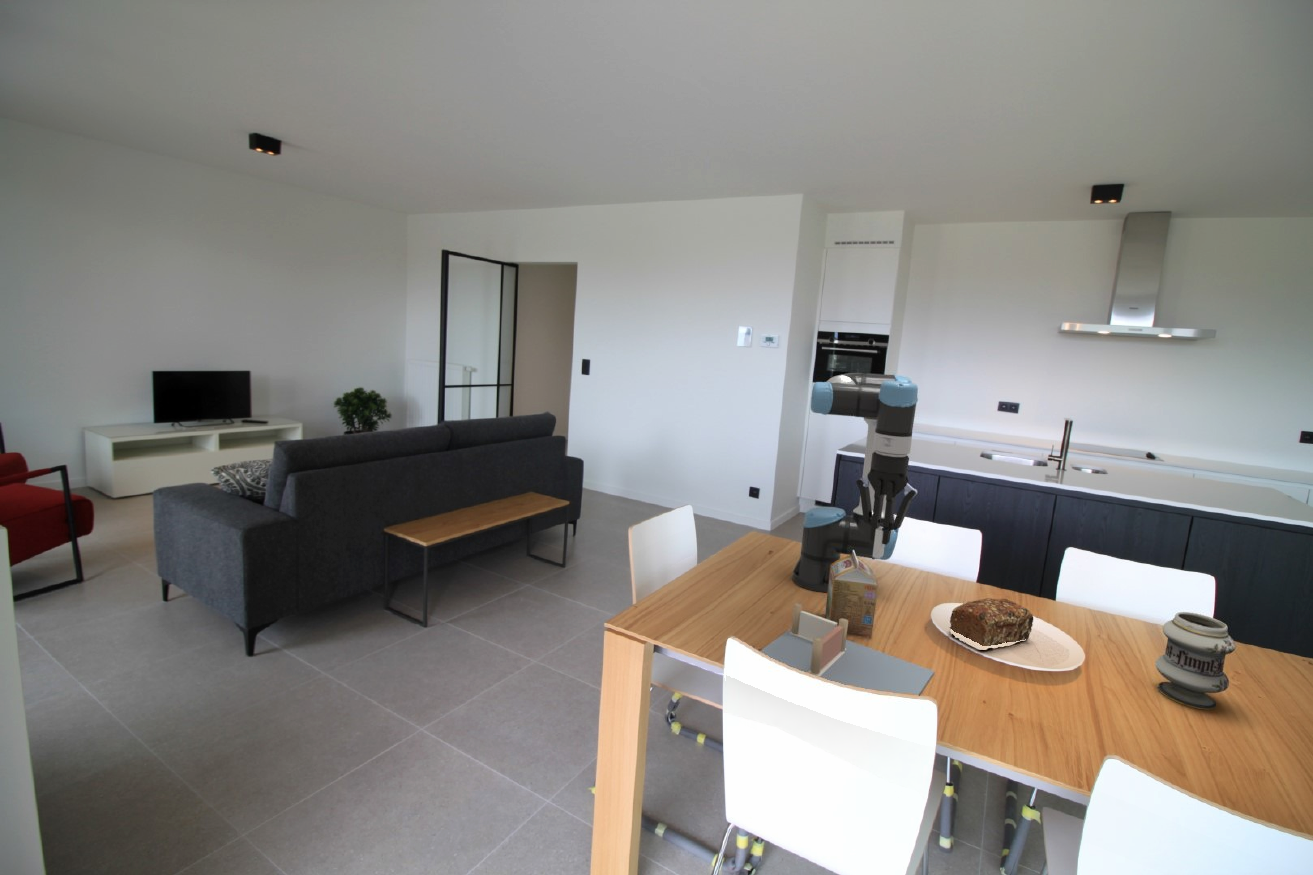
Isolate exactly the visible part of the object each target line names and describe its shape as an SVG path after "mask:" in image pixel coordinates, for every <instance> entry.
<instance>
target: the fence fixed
mask: <svg viewBox="0 0 1313 875" xmlns="http://www.w3.org/2000/svg"><path fill="white" fill-rule="evenodd" d="M791 621H792V622H791V628H792V629H791V628H790V629H791V633H793V634H798V635H800V636H803V637H805V638H808V639H811V640H814V638H815V637H819V638H822V639H823V638H824V637H825V636H826V635H827V634H829V633H830V632H831V631H832V630H834V629H835V628H836V627H837V624H838V623H837V622H834V621H831V620H828V619H826V617H825V618H824V617H822V616H819V615H817V614H813V613H810V612H807V611H804V610H803V604H801V603H798V602H796V603H794V604H793V609H792V620H791ZM839 626H842V627H843V636H842V644H841V651H845V644H846V640H847V636H848V635H847V628H848V620H847V619H843V618H841V619H839Z"/></svg>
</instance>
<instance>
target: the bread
mask: <svg viewBox="0 0 1313 875" xmlns="http://www.w3.org/2000/svg"><path fill="white" fill-rule="evenodd" d="M1033 623H1034V614H1032V612H1031V611H1030V610H1029V609H1028V608H1026V607H1023V606H1022V605H1020V604H1019V603H1016V601H1013V600H1010V599H1007V598H998V599H997V598H992V597H991V598H990V597H989V598H981V599H976V600H972V601H967V602H965V603H964V602H963V603H962V604H960V605H957V607H954V609H952V610H951V615H950V618H949V624H950V627H949V628H950V629H952V630H953V631H954V632H956V633H959V634H961V635H963V636H964V637H966V638H969V639H971V640H972V641H974V642H977V643H979V644H980V645H982V646H991V645H998V644H1002V643H1005V642H1006V643H1007V642H1016V641H1020V640H1025V639H1027V640H1029V637H1030V634H1031V633H1032V627H1033V626H1034V624H1033ZM950 629H949V630H950Z"/></svg>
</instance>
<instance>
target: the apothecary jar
mask: <svg viewBox="0 0 1313 875" xmlns="http://www.w3.org/2000/svg"><path fill="white" fill-rule="evenodd" d="M1162 633H1163V634H1164V636H1165V637H1166V638H1167V642H1166V648H1165V650H1164V651H1165V652H1164V654H1162V655H1160V656H1158V657H1157V658H1156V660H1155V667H1156V670H1157V672H1158V673H1159V674H1160V675H1161V676H1162V677H1163V678H1164V679H1166V680H1168V681H1162V682H1159V683H1158V687H1157V690H1158V691H1159V692H1160V693H1161V694H1162V695H1163V696H1165V697H1166V698H1168V699H1170V700H1172V701H1174V702H1176V703H1178V704H1181V705H1183V706H1186V707H1190V708H1194V709H1198V710H1205V711H1206V710H1207V711H1210V710H1215V709H1216V708H1217V705H1218V704H1217V702H1216V701H1215V700H1214V699H1213V697H1211V696H1210V695H1208V694H1218V693H1221V692H1224V691H1226V690H1227V689H1228V688H1229V686H1230V681H1229V678H1228V676H1227V675H1226V673H1225V672H1224V665H1225V659H1226V655H1230V654H1231V653H1233V652H1234V651H1235V650H1236V643H1235V640H1234V639H1233V638H1232V637H1231V636H1230V635H1229V632H1228V625H1227V624H1226V623H1224V622H1222V621H1221V620H1219V619H1216V618H1214V617H1210V616H1209V615H1208V616H1207V615H1204V614H1201V613H1197V612H1196V613H1195V612H1189V611H1188V612H1187V611H1179V612H1176V613H1175V615H1174V618H1172V619H1171V620H1168V621H1166V622H1165V623H1163V626H1162Z"/></svg>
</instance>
